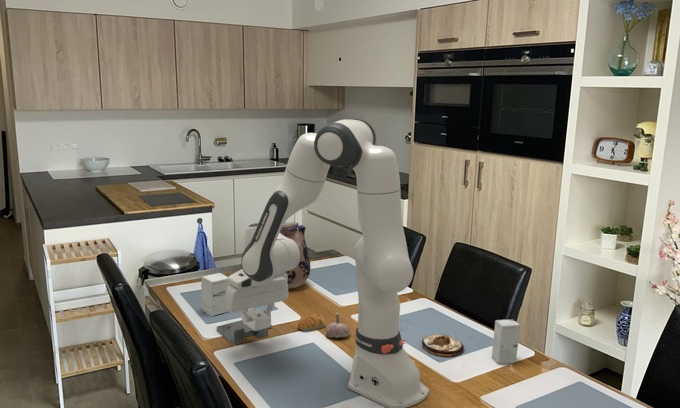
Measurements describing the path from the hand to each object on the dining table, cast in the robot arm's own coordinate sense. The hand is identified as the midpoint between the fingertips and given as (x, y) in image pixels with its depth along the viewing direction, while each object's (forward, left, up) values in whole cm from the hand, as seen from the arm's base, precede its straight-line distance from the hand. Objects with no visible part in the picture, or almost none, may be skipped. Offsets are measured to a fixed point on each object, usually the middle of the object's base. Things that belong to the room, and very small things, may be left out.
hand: (257, 319), depth 165 cm
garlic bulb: (-9, -25, -9) cm, 27 cm away
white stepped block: (+2, 0, -2) cm, 3 cm away
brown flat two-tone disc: (-34, -47, -9) cm, 58 cm away
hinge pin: (+12, -10, -9) cm, 18 cm away
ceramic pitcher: (+40, -36, -9) cm, 54 cm away
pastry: (+2, -22, -9) cm, 24 cm away
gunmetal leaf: (+11, -1, -9) cm, 14 cm away
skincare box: (-50, -56, -9) cm, 75 cm away
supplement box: (+31, -2, -9) cm, 33 cm away
